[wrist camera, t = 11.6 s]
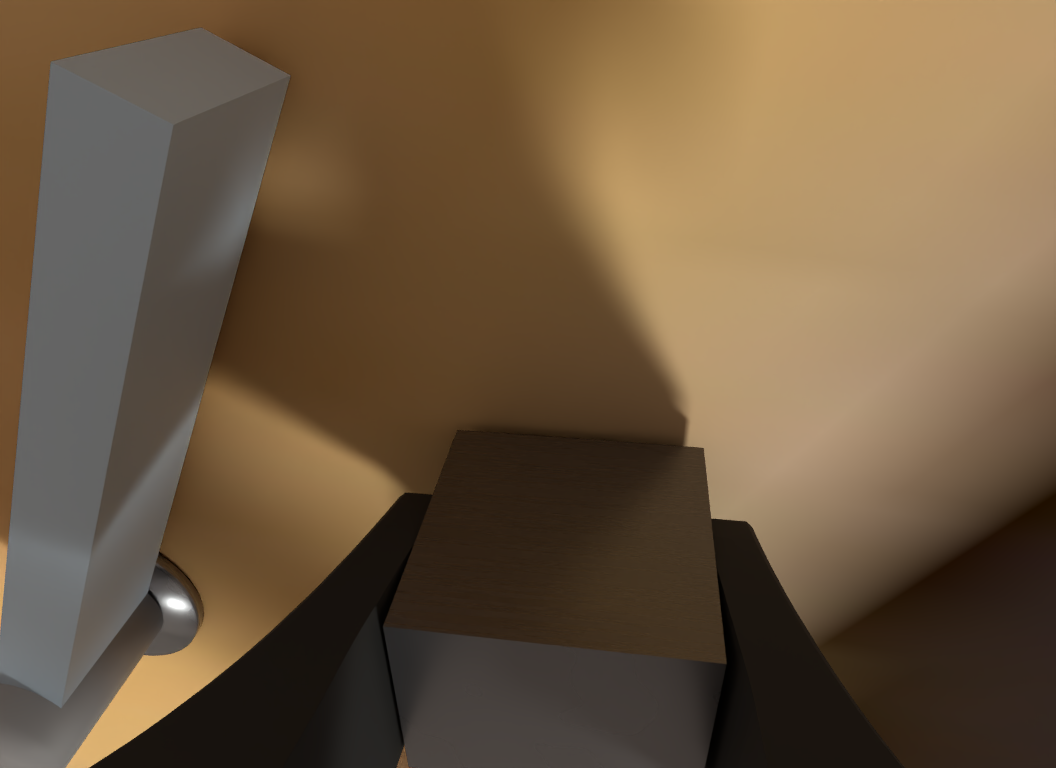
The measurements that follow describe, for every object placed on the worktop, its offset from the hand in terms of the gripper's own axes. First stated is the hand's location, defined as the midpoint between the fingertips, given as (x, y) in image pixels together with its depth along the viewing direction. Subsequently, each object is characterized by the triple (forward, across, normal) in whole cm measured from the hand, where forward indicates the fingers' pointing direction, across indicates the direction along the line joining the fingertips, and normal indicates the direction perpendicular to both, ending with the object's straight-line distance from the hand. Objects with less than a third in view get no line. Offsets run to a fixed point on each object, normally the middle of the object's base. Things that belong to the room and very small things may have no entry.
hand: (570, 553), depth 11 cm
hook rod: (+1, 0, +6) cm, 6 cm away
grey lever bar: (+1, +7, -1) cm, 8 cm away
